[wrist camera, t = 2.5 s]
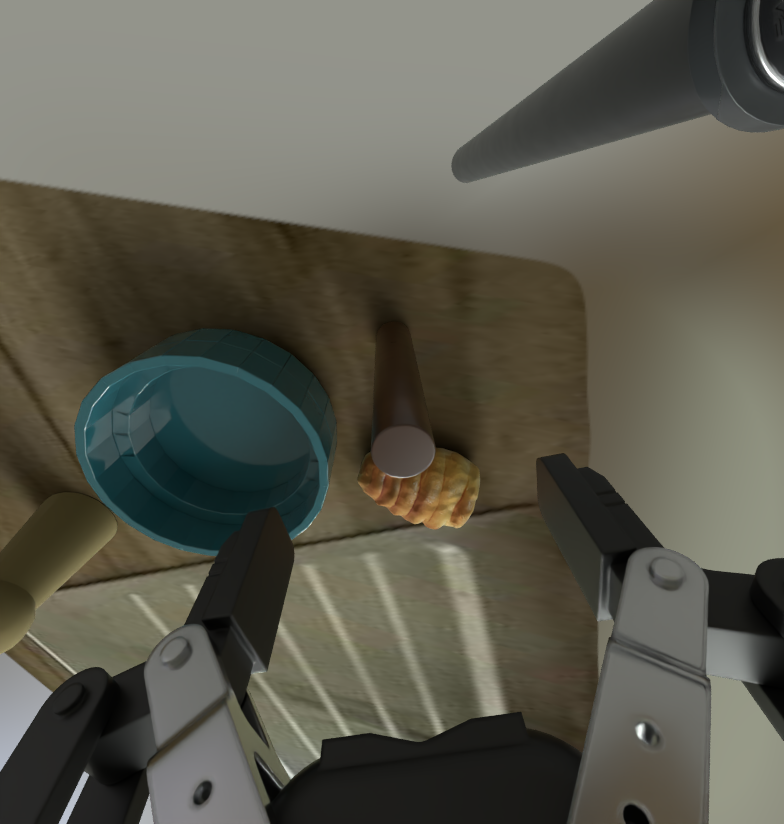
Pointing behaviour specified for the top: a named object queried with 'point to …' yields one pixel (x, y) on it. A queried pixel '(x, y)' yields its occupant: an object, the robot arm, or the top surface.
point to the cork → (48, 557)
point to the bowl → (208, 438)
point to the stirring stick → (399, 407)
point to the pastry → (426, 490)
